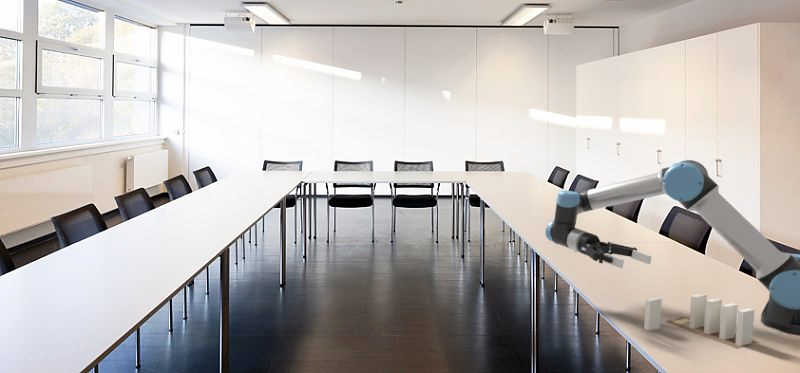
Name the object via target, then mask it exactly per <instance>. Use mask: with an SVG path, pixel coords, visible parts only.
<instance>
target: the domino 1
mask: <svg viewBox="0 0 800 373" xmlns="http://www.w3.org/2000/svg"><path fill="white" fill-rule="evenodd" d="M662 299H663V298H662V297H658V296H657V297H651V298H647V299H645V312H644V326H643V328H644V330H646V331H648V332H650V331H653V330H657V329H660V328H661V316H662V302H663V301H662Z"/></svg>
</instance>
